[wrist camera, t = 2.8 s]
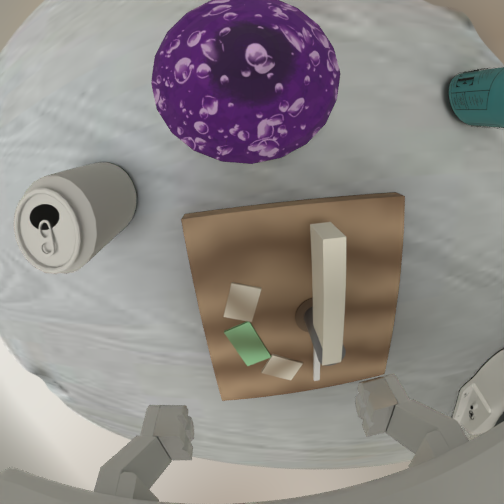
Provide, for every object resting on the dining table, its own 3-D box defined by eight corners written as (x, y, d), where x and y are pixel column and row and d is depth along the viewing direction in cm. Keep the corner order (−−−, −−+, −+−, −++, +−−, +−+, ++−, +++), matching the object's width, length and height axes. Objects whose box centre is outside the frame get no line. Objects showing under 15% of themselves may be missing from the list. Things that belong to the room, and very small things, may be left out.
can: (134, 155, 27) (74, 169, 16) (144, 228, 30) (98, 280, 18) (70, 168, 27) (-3, 190, 16) (83, 236, 30) (22, 285, 18)
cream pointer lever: (325, 373, 35) (339, 413, 29) (304, 377, 35) (315, 417, 29) (326, 213, 28) (351, 236, 21) (299, 216, 28) (317, 240, 21)
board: (379, 364, 38) (384, 375, 36) (222, 390, 38) (222, 402, 36) (395, 192, 30) (406, 196, 27) (184, 214, 29) (180, 220, 27)
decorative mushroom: (152, 116, 26) (76, 101, 12) (223, 13, 22) (215, -76, 8) (263, 181, 29) (289, 224, 15) (332, 78, 25) (414, 37, 11)
